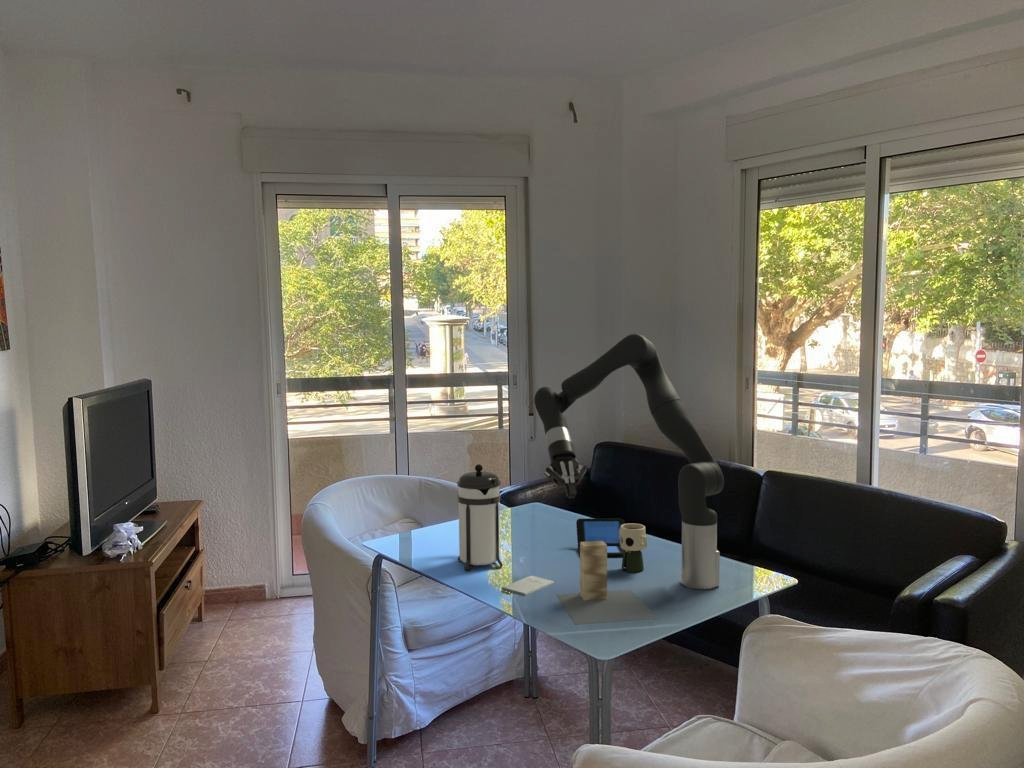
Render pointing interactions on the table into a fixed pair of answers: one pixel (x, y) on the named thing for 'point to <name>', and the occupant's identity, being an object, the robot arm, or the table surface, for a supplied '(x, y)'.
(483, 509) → the coffee press
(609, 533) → the game console
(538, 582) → the external hard drive
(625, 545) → the character mug
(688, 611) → the table surface
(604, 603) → the slate mat
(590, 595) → the oak block
